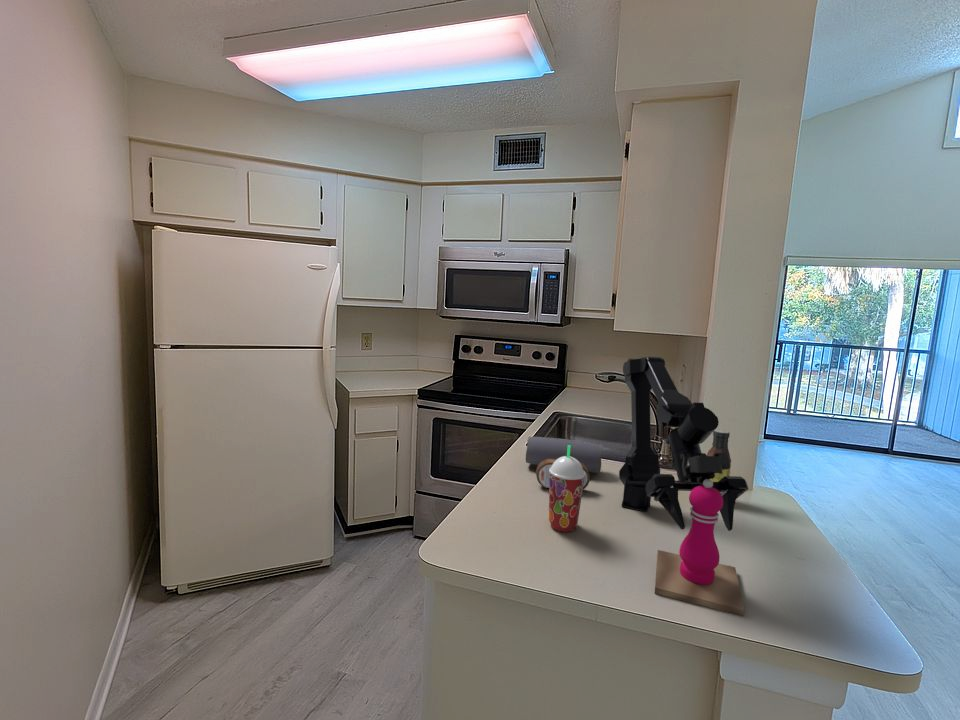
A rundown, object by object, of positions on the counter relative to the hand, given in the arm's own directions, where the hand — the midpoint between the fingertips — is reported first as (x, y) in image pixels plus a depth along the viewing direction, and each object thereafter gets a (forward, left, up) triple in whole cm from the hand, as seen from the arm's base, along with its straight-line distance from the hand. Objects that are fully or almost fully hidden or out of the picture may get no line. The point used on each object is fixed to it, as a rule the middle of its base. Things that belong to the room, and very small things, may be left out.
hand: (706, 529), depth 95 cm
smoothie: (-30, +12, -12) cm, 34 cm away
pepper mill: (-1, +2, -11) cm, 11 cm away
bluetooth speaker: (-38, +49, -12) cm, 63 cm away
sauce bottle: (+5, +47, -12) cm, 49 cm away
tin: (-35, +34, -12) cm, 50 cm away
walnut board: (-1, +1, -12) cm, 12 cm away
